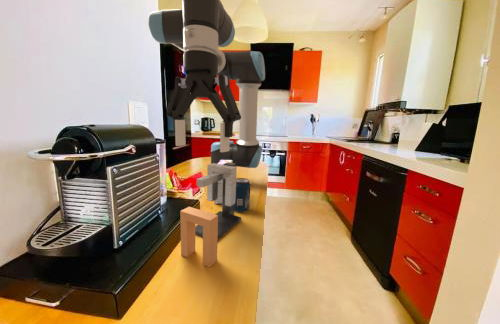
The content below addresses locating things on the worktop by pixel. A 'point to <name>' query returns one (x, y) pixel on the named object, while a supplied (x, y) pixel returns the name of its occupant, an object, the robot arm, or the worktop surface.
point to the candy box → (221, 184)
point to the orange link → (210, 233)
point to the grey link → (229, 186)
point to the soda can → (242, 195)
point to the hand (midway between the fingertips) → (201, 148)
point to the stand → (227, 215)
